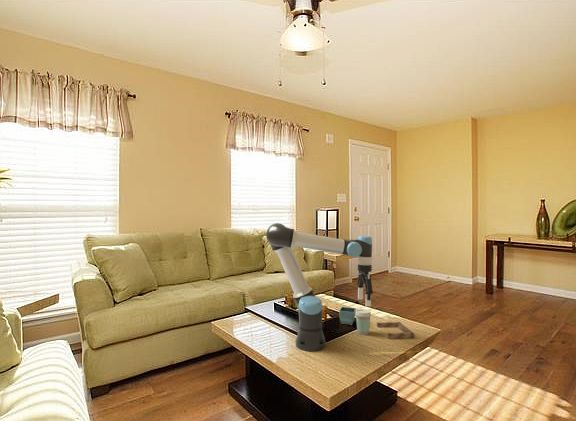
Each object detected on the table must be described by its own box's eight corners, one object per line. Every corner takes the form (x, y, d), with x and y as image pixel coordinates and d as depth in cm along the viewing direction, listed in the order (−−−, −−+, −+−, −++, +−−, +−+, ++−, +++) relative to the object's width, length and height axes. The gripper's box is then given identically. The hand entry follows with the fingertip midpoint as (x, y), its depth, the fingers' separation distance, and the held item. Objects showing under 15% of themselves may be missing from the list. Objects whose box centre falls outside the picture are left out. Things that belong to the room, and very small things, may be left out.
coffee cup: (369, 330, 181) (369, 309, 181) (372, 336, 172) (372, 313, 172) (354, 329, 181) (354, 308, 182) (356, 335, 173) (356, 313, 173)
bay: (388, 338, 169) (388, 333, 169) (376, 326, 187) (376, 322, 187) (413, 338, 170) (413, 333, 170) (399, 326, 188) (399, 321, 188)
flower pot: (356, 322, 193) (356, 308, 193) (354, 327, 185) (354, 312, 185) (341, 321, 196) (341, 306, 196) (338, 326, 188) (338, 310, 188)
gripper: (379, 267, 165) (378, 309, 165) (364, 260, 190) (363, 296, 190) (365, 267, 165) (364, 309, 164) (351, 260, 190) (351, 296, 189)
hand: (364, 302), depth 177 cm, fingers open, 13 cm apart
